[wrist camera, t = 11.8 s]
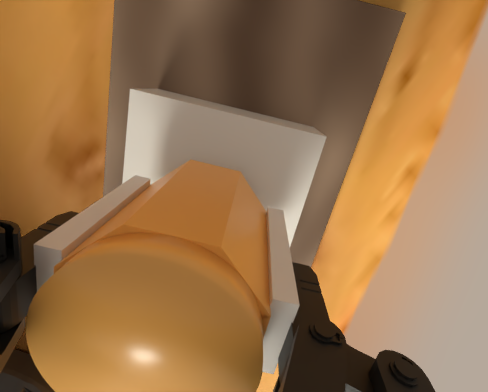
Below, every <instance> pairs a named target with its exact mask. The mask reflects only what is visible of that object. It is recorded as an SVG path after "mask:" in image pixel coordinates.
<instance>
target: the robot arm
mask: <svg viewBox="0 0 488 392" xmlns="http://www.w3.org/2000/svg"><path fill="white" fill-rule="evenodd" d="M150 180H151V179H149V178H145V177H141V176H137V175H135V176H133V177H132V178H130V179H129V180H127V181H126V182H124V183H123V184H121V185H120V186H119V187H117V188H116V189H114V190H113V191H111V192H110V193H108V194H107V195H105V196H104V197H102V198H101V199H99V200H98V201H96V202H95V203H94V204H92V205H91V206H89V207H88V208H86V209H85V210H83V211H82V212H80V213H76V212H72V211H70V212H67V213H64V214H60V215H57V216H55V217H54V218H52V219H50V220H49V221H47V222H46V224H45V223H44V224H42V225H41V226H39V227H38V228H37V229H34V230H33V231H31V232H29V233H28V234H26V235H25V236H23V237H21V234H20V228H19V226H18V225H17V224H15V223H13V222H11V221H6V220H0V392H55V391H54V390H53V389H52V388H51V387H50V386H49V384H48V383H47V382H46V381H45V379H44V378H43V377H42V375H41V374H40V372H39V371H38V369H37V367H36V366H35V363H34V361H33V359H32V357H31V355H30V354H28V353H25V352H22V351H19V350H15V349H14V348H15V346H16V345H17V343H18V341H19V339H20V337H21V335H22V334H23V332H24V329H25V325H26V322H25V317H26V316H27V314H28V309H29V307H30V304H31V302H32V300H33V297H34V296H35V294H36V293H37V291H38V290H39V289H40V287H41V286H42V285H43V284H44V283H45V282H46V281H47V280H48V279H49V278H50V277H51V276H52V275H53V274H54V266H55V265H56V264H57V263H59V262H60V261H61V260H62V259H64V258H65V257H66V256H67V255H68V254H69V253H71V252H72V251H73V250H74V249H75V248H77V247H78V246H79V245H80V244H81V243H82V242H84V241H85V240H86V239H87V238H88V237H90V236H91V235H92V234H93V233H94V232H95V231H97V230H98V229H99V228H100V227H101V226H103V225H104V224H105V223H106V222H107V221H108V220H110V219H111V218H112V217H113V216H114V215H116V214H117V213H118V212H119V211H120V210H121V209H123V208H124V207H125V206H126V205H127V204H129V203H130V202H131V201H132V200H133V199H135V198H136V197H137V196H138V195H139V194H140V193H142V192H143V191H144V190H145V189H146V188H148V187H149V186H150ZM266 220H267V246H268V272H269V298H270V308H271V317H270V320H269V323H268V326H267V329H266V332H265V335H264V338H263V370H262V372H266V373H270V374H274V372H275V369H276V366H277V364H278V367H279V377H278V380H277V382H276V385H275V387H274V390H273V392H435V390H434V388H433V386H432V385H431V382H430V381H429V379H428V377H427V376H426V375H425V373H424V372H423V370H422V369H421V368H420V367H419V366H418V365H416V364H415V363H414V362H413V361H412V360H410V359H409V358H407V357H406V356H404V355H403V354H400V353H398V352H395V351H390V350H384V351H382V352H379V354H378V356H377V358H376V359H374V358H372V357H370V356H368V355H366V354H364V353H362V352H360V351H358V350H356V349H354V348H352V347H351V346H349V345H348V344H346V340H345V336H344V335H343V333H342V332H341V330H340V329H339V328H338V327H337V326H336V325H335V324H334V323H332V322H331V321H330V320H329V316H328V313H327V309H326V306H325V302H324V299H323V296H322V294H321V289H320V286H319V282H318V278H317V275H316V274H315V273H314V271H313V270H312V269H311V268H310V266H308V265H303V264H299V263H295V262H292V258H291V253H290V247H289V241H288V235H287V229H286V224H285V218H284V212H283V210H280V209H276V208H271V207H268V209H267V212H266Z"/></svg>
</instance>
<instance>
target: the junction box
mask: <svg viewBox="0 0 488 392" xmlns="http://www.w3.org/2000/svg"><path fill="white" fill-rule="evenodd" d="M325 140H326V136H325V135H324V134H322V133H321V132H320V131H318V130H317V129H315V128H314V127H312V126H307V125H303V124H299V123H295V122H291V121H287V120H283V119H279V118H275V117H271V116H267V115H263V114H259V113H255V112H250V111H246V110H242V109H238V108H234V107H230V106H226V105H222V104H218V103H214V102H210V101H206V100H202V99H198V98H194V97H189V96H185V95H181V94H177V93H173V92H169V91H165V90H161V89H130V96H129V108H128V120H127V132H126V144H125V156H124V168H123V180H122V184H123V183H124V182H126V181H127V180H129V179H130V178H132V177H133V176H135V175H137V176H141V177H145V178H149V179H151V180H150V185H151V184H153V183H154V182H156V181H157V180H159V179H160V178H162V177H164V176H165V175H167V174H168V173H170V172H172V171H173V170H175V169H176V168H178V167H179V166H181V165H183V164H184V163H186V162H187V161H189V160H195V161H199V162H204V163H208V164H212V165H216V166H220V167H224V168H228V169H233V170H237V171H241V173H242V174H243V176H244V178H245V179H246V181H247V182H248V184H249V185H250V187H251V189H252V190H253V192H254V193H255V195H256V196H257V198H258V199H259V201H260V203H261V204H262V206H263V207H264V209H265V210H266V212H267V209H268V207H271V208H276V209H280V210H283V212H284V218H285V224H286V229H287V235H288V241H289V247H290V246H291V243H292V240H293V237H294V234H295V231H296V228H297V225H298V222H299V219H300V216H301V213H302V210H303V207H304V204H305V200H306V197H307V194H308V191H309V188H310V185H311V182H312V179H313V176H314V173H315V170H316V167H317V164H318V161H319V158H320V155H321V152H322V149H323V146H324V143H325Z"/></svg>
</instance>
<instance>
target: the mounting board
mask: <svg viewBox="0 0 488 392" xmlns="http://www.w3.org/2000/svg"><path fill="white" fill-rule="evenodd" d="M405 14H406V13H405V12H401V11H397V10H393V9H389V8H385V7H381V6H377V5H374V4H370V3H366V2H362V1H358V0H115V2H114V19H113V36H112V54H111V71H110V88H109V105H108V122H107V139H106V157H105V174H104V191H103V197H104V196H105V195H107V194H108V193H110V192H111V191H113V190H114V189H116V188H117V187H119V186H120V185H121V184H122V180H123V168H124V156H125V144H126V132H127V120H128V108H129V96H130V89H161V90H165V91H169V92H173V93H177V94H181V95H185V96H189V97H194V98H198V99H202V100H206V101H210V102H214V103H218V104H222V105H226V106H230V107H234V108H238V109H242V110H246V111H250V112H255V113H259V114H263V115H267V116H271V117H275V118H279V119H283V120H287V121H291V122H295V123H299V124H303V125H307V126H312V127H314V128H315V129H317V130H318V131H320V132H321V133H322V134H324V135H325V136H326V140H325V143H324V146H323V149H322V152H321V155H320V158H319V161H318V164H317V167H316V170H315V173H314V176H313V179H312V182H311V185H310V188H309V191H308V194H307V197H306V200H305V204H304V207H303V210H302V213H301V216H300V219H299V222H298V225H297V228H296V231H295V234H294V237H293V240H292V243H291V246H290V253H291V258H292V262H295V263H299V264H303V265H308V266H310V268H311V265H312V263H313V260H314V257H315V255H316V252H317V249H318V247H319V244H320V241H321V239H322V236H323V233H324V231H325V228H326V225H327V223H328V220H329V217H330V215H331V212H332V209H333V207H334V204H335V201H336V199H337V196H338V193H339V191H340V188H341V185H342V183H343V180H344V177H345V175H346V172H347V169H348V166H349V164H350V161H351V158H352V156H353V153H354V150H355V148H356V145H357V142H358V140H359V137H360V134H361V132H362V129H363V126H364V124H365V121H366V118H367V116H368V113H369V110H370V108H371V105H372V102H373V100H374V97H375V94H376V92H377V89H378V86H379V84H380V81H381V78H382V76H383V73H384V70H385V68H386V65H387V62H388V60H389V57H390V54H391V52H392V49H393V46H394V44H395V41H396V38H397V35H398V33H399V30H400V27H401V25H402V22H403V19H404V17H405Z"/></svg>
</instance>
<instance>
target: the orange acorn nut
mask: <svg viewBox="0 0 488 392" xmlns="http://www.w3.org/2000/svg"><path fill="white" fill-rule="evenodd" d="M270 317H271V308H270V298H269V272H268V246H267V220H266V210H265V209H264V207H263V206H262V204H261V203H260V201H259V199H258V198H257V196H256V195H255V193H254V192H253V190H252V189H251V187H250V185H249V184H248V182H247V181H246V179H245V178H244V176H243V174H242V173H241V171H237V170H233V169H228V168H224V167H220V166H216V165H212V164H208V163H204V162H199V161H195V160H189V161H187V162H186V163H184V164H183V165H181V166H179V167H178V168H176V169H175V170H173V171H172V172H170V173H168V174H167V175H165V176H164V177H162V178H160V179H159V180H157V181H156V182H154V183H153V184H151V185H150V186H149V187H148V188H146V189H145V190H144V191H143V192H142V193H140V194H139V195H138V196H137V197H136V198H135V199H133V200H132V201H131V202H130V203H129V204H127V205H126V206H125V207H124V208H123V209H121V210H120V211H119V212H118V213H117V214H116V215H114V216H113V217H112V218H111V219H110V220H108V221H107V222H106V223H105V224H104V225H103V226H101V227H100V228H99V229H98V230H97V231H95V232H94V233H93V234H92V235H91V236H90V237H88V238H87V239H86V240H85V241H84V242H82V243H81V244H80V245H79V246H78V247H77V248H75V249H74V250H73V251H72V252H71V253H69V254H68V255H67V256H66V257H65V258H64V259H62V260H61V261H60V262H59V263H57V264H56V265H55V266H54V274H53V275H52V276H51V277H50V278H49V279H48V280H47V281H46V282H45V283H44V284H43V285H42V286H41V287H40V289H39V290H38V291H37V293H36V294H35V296H34V297H33V300H32V302H31V304H30V307H29V309H28V314H27V318H26V339H27V345H28V348H29V351H30V355H31V357H32V359H33V361H34V363H35V366H36V367H37V369H38V371H39V372H40V374H41V375H42V377H43V378H44V379H45V381H46V382H47V383H48V384H49V386H50V387H51V388H52V389H53V390H54V391H55V392H256V390H257V388H258V386H259V383H260V380H261V376H262V370H263V338H264V335H265V332H266V329H267V326H268V323H269V320H270Z"/></svg>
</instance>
